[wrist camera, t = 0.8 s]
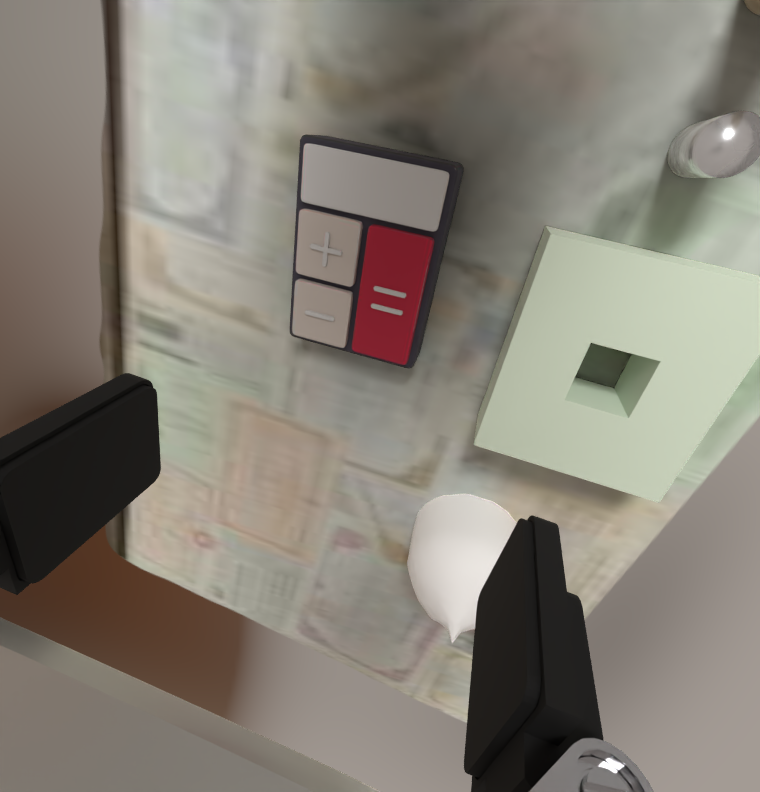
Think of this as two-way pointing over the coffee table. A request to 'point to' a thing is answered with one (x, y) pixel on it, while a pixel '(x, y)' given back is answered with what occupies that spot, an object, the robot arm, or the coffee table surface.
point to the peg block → (644, 372)
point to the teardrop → (456, 556)
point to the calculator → (368, 246)
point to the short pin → (716, 146)
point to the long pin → (753, 6)
